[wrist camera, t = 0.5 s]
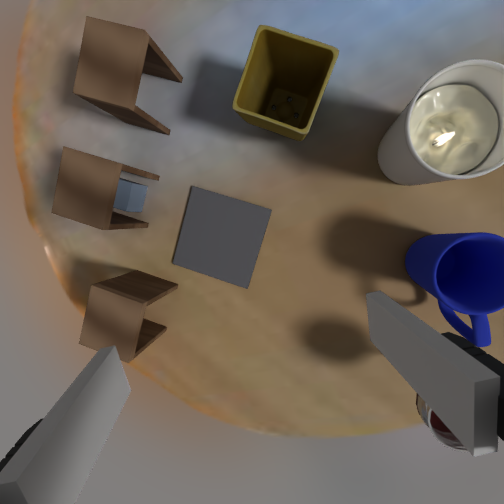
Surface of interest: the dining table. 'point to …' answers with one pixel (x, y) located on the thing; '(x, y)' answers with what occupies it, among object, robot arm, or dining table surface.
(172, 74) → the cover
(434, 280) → the mug
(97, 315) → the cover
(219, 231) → the mat
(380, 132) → the dining table surface
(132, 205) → the cube
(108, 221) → the cover middle
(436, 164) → the candle holder
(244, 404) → the dining table surface
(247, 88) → the flower pot
